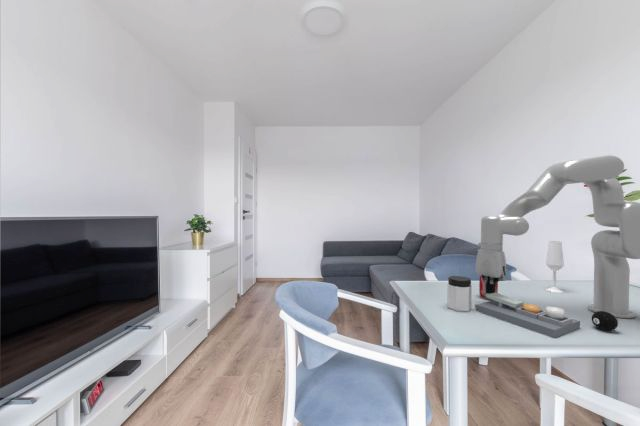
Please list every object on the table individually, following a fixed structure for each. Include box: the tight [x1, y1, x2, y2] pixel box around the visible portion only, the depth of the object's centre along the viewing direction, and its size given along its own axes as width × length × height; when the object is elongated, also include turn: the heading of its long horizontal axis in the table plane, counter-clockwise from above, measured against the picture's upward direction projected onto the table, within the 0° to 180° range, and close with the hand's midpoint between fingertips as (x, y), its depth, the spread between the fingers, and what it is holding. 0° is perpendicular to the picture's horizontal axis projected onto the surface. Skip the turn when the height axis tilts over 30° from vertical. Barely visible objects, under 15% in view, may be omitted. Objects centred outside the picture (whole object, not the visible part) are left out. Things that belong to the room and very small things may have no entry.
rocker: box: [486, 293, 525, 308], centre depth 109 cm, size 5×11×2 cm, turn 26°
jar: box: [446, 275, 472, 313], centre depth 114 cm, size 9×8×12 cm
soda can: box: [478, 276, 499, 301], centre depth 127 cm, size 7×7×12 cm
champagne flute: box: [545, 240, 565, 294], centre depth 138 cm, size 7×7×24 cm
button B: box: [523, 303, 541, 314], centre depth 101 cm, size 5×5×2 cm
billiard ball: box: [591, 311, 619, 332], centre depth 94 cm, size 6×6×6 cm
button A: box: [545, 306, 565, 319], centre depth 94 cm, size 5×5×2 cm
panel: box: [475, 300, 581, 339], centre depth 103 cm, size 16×26×4 cm, turn 26°
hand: (490, 292), depth 114 cm, fingers closed
